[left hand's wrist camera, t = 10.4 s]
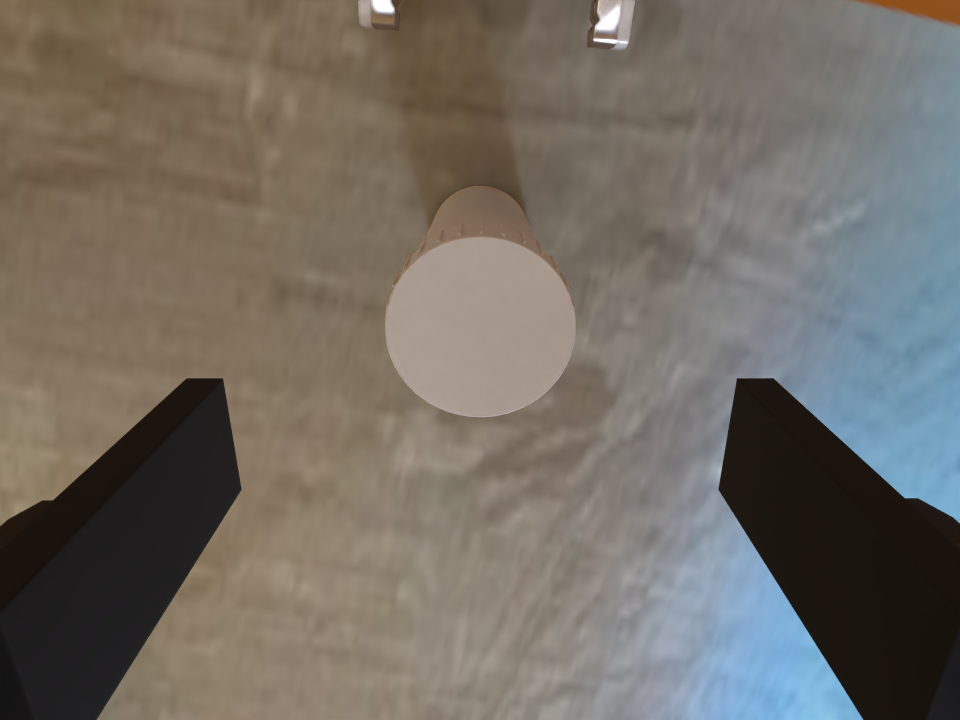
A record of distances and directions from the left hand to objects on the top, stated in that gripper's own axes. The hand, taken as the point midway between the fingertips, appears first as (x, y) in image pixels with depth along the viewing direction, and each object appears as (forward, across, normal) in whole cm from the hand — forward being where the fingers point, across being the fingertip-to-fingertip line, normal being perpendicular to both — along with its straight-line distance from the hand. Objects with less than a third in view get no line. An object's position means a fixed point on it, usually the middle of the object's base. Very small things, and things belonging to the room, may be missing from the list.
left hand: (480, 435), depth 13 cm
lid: (+7, 0, 0) cm, 7 cm away
